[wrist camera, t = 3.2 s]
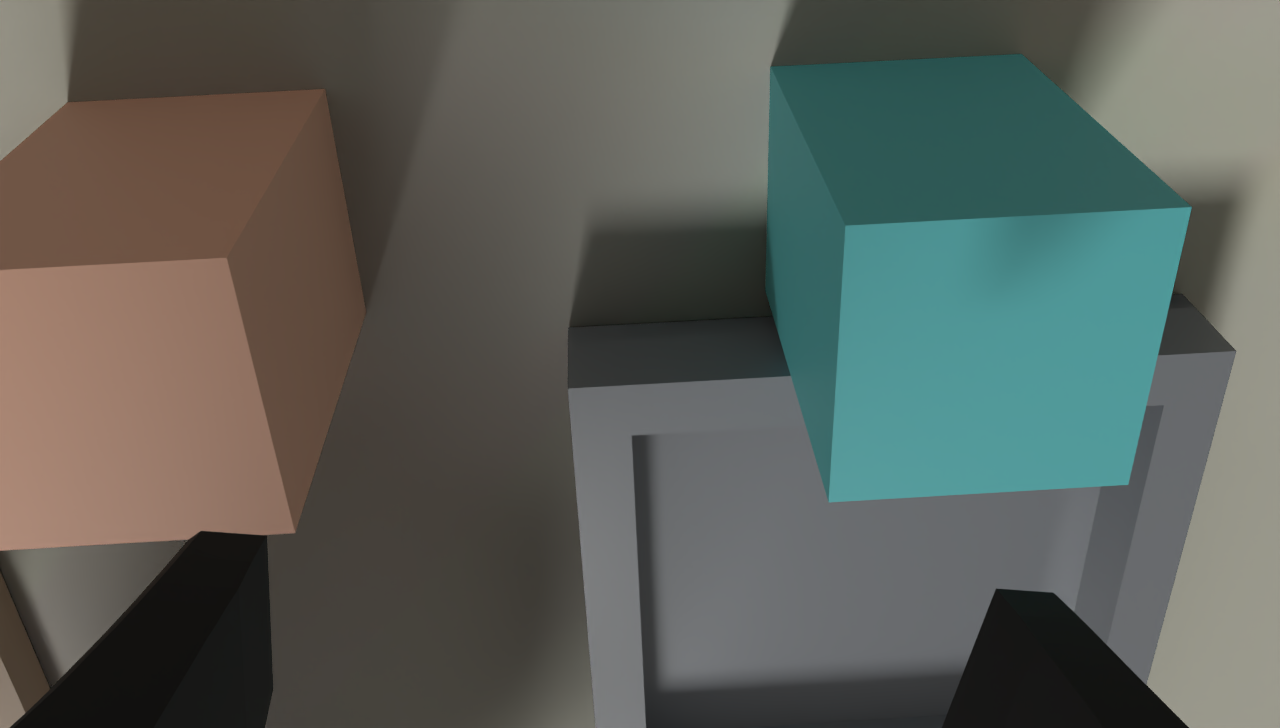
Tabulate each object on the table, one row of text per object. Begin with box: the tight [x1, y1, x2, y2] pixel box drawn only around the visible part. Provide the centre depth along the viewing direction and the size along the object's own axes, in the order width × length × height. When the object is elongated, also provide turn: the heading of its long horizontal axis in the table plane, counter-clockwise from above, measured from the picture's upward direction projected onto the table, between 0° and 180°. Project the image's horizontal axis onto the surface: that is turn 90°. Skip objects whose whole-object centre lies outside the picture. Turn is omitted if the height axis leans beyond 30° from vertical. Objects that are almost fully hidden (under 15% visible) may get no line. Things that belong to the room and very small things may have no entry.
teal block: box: [765, 54, 1192, 502], centre depth 17 cm, size 4×4×6 cm
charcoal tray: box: [568, 294, 1236, 728], centre depth 23 cm, size 11×11×2 cm
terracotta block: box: [0, 89, 366, 551], centre depth 17 cm, size 4×4×6 cm
